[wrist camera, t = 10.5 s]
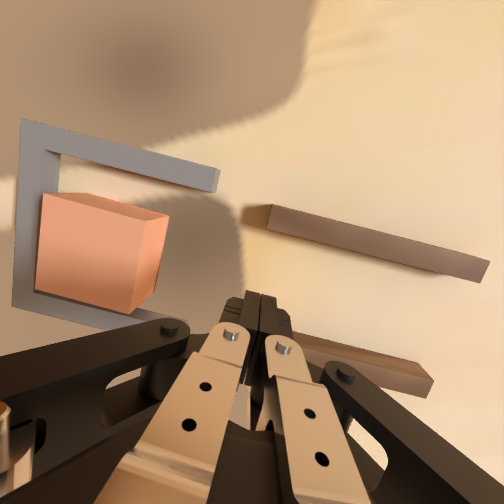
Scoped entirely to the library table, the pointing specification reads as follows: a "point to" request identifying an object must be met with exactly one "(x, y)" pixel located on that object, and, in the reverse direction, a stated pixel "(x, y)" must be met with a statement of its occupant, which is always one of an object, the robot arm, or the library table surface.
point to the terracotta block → (99, 250)
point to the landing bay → (46, 181)
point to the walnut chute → (387, 247)
